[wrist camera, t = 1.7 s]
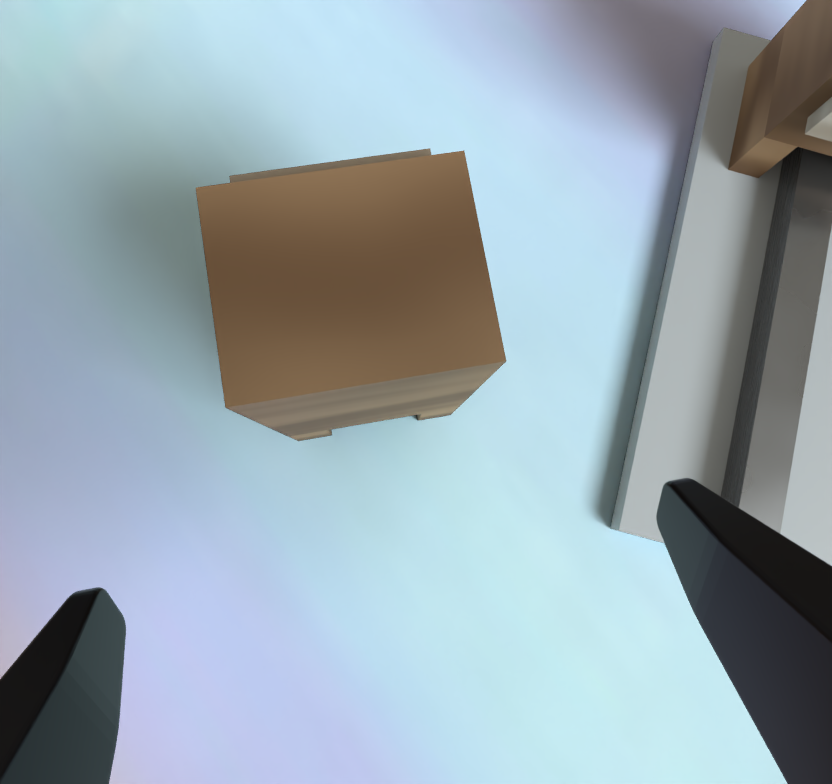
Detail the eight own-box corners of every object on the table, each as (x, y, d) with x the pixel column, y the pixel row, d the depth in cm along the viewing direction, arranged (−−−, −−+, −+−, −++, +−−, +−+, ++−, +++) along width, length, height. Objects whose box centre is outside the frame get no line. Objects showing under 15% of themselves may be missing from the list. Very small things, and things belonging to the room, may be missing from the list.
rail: (753, 557, 21) (775, 562, 20) (711, 546, 21) (731, 550, 20) (838, 66, 24) (862, 44, 23) (801, 56, 24) (823, 33, 23)
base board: (824, 586, 22) (841, 590, 21) (610, 528, 22) (619, 530, 21) (900, 94, 25) (917, 82, 24) (712, 41, 25) (724, 27, 24)
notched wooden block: (450, 415, 22) (506, 361, 12) (298, 441, 21) (225, 407, 12) (425, 280, 22) (458, 123, 13) (277, 303, 22) (192, 159, 12)
